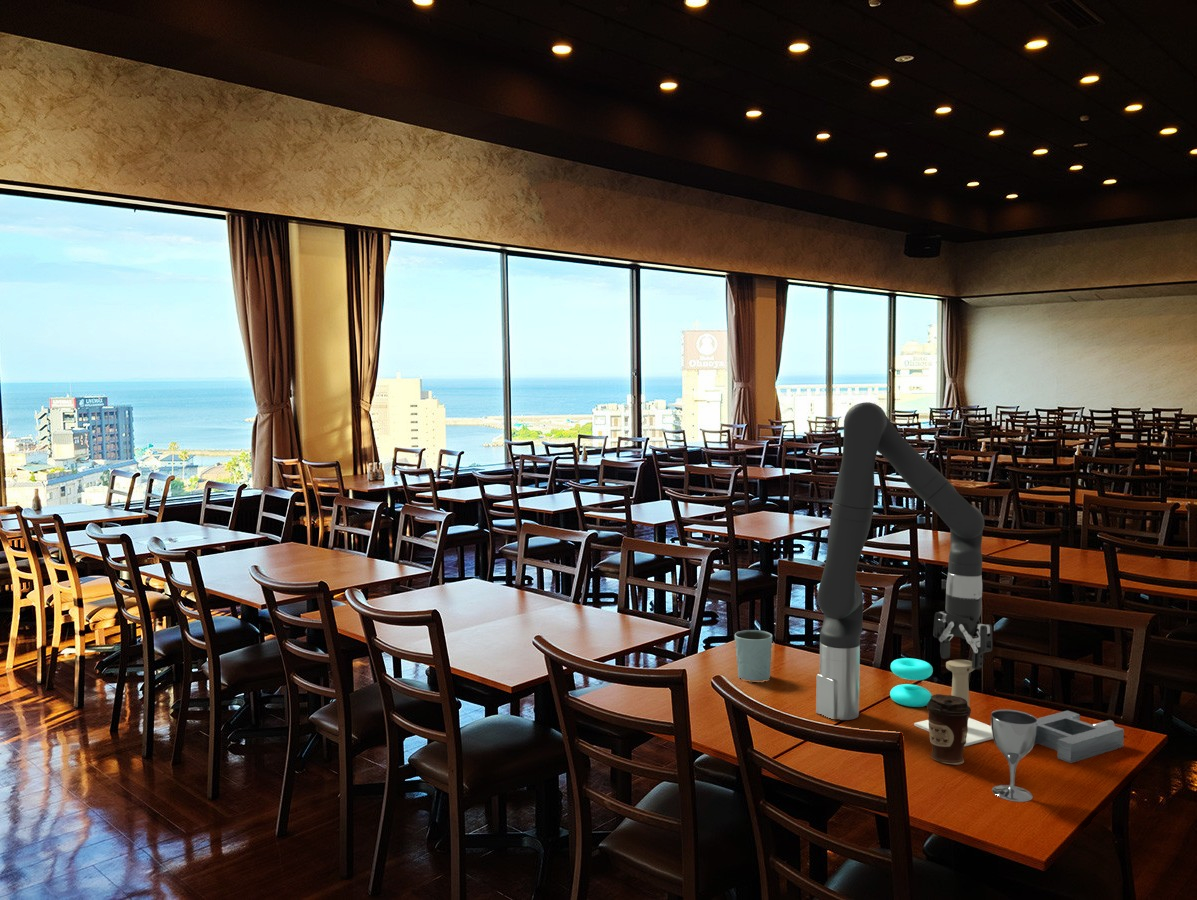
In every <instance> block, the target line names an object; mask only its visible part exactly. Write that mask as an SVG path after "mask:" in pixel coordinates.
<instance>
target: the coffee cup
mask: <svg viewBox="0 0 1197 900" xmlns="http://www.w3.org/2000/svg"><path fill="white" fill-rule="evenodd" d="M967 703H968V702H967V701H966V700H965V699H963V698H961V697H956V696H952V695H951V694H950V695H948V694H938V693H937V694H933V695H932V696H931V699H930V701H929V702H928V703H927V706H926V708H927V711H928V719H927V720H928V721H929V731H928V732H929V735H928V736H929V741H930V745H931V746H932V751H931V752H930V756H931V758H932V759H933V760H935V761H937V762H939V763H942V764H948V765H953V766H955V765H956V766H957V765H961V764H963V763H964V762H965V761H964V757H963V754H964V749H965V746H964V745H965V744H966V737H967V732H968V726H967V723H968V718H970V716H971V713H972V709H971V707H970V705H969V706H968V705H967Z"/></svg>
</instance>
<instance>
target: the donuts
mask: <svg viewBox="0 0 1197 900" xmlns="http://www.w3.org/2000/svg"><path fill="white" fill-rule="evenodd" d="M933 669H934V668H933V666H932V664H930V663H929V662H927V661H925V660H922V659H917V658H911V657H910V658H909V657H907V658H906V657H905V658H904V657H903V658H897V659H894V660H893V661H891V663H890V670H891V672H892V673H893V674H894V675H895V676H897V677H899V678H900V679H905V680H909V681H924V680H926V679H929V678H930V677H931V676H932V675H933V671H934V670H933ZM889 696H890V699H891V700H892V701H894V702H895V703H896V704H898V705H901V706H905V707H912V708H922V707H925V706H926V707H927V703H928V702H929V701H930V699H931V696H933V695H932V692H931V691H929V690H928V689H927V688H925V687H924V686H920V685H917V684H909V683H906V684H905V683H904V684H897V685H895V686H894V687H892V688H891V690H890V692H889Z"/></svg>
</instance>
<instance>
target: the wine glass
mask: <svg viewBox="0 0 1197 900" xmlns="http://www.w3.org/2000/svg"><path fill="white" fill-rule="evenodd" d="M990 726H991V729H992V735H993V739H992V740H993V741H994V744H995V745H996V748H998V750H999V751H1000V752H1001V754H1002V755H1003V756H1004V757H1005V759H1006V761H1007V763H1008V766H1009V776H1010V777H1009V784H999V785H995V786H993V787H992V789H991V792H992V791H993V792H992V793H993V794H994V795H995V796H996V795H997V796H996V797H998V796H999V797H998V798H1000V799H1003V800H1006V801H1009V802H1010V801H1011V802H1019V803H1023V802H1025V803H1026V802H1030V801H1031V800H1033V794H1032V793H1031V792H1030V791H1029V790H1027V789H1025V788H1023V787H1019V786H1016V785H1015V784H1016V783H1015V779H1016V772H1017V771H1016V770H1017V768H1018V767H1017V766H1018V764H1019V762H1020V761H1021V760H1022V759H1023V758H1024V757H1025V756H1026V755H1028V754H1029V753H1030V752H1031V751H1032V750H1033V747H1034V746H1035V745H1034V742H1035V738H1036V733H1037V717H1036V716H1034V715H1033V714H1031V713H1028V712H1024V711H1023V710H1022V711H1020V710H1015V709H1003V708H1002V709H996V710H993V711H992V712H991V713H990Z"/></svg>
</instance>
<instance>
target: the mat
mask: <svg viewBox="0 0 1197 900" xmlns="http://www.w3.org/2000/svg"><path fill="white" fill-rule="evenodd" d="M913 725H914V726H915V727H917V728H919V729H922V730H924V731H927V732H929V721H928V719H926V720H920V721H917V722H914V723H913ZM967 726H968V732H967V737H966V744H965V745H964V747H968V746H972V745H974V744H975V745H976V744H980V743H983V742H986V741H990V740H993V735H992V729H991V724H990V725H989V724H987V723H984V722H981V721H978V720H976V719H974V718H971V717H969V718H968V725H967Z"/></svg>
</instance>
